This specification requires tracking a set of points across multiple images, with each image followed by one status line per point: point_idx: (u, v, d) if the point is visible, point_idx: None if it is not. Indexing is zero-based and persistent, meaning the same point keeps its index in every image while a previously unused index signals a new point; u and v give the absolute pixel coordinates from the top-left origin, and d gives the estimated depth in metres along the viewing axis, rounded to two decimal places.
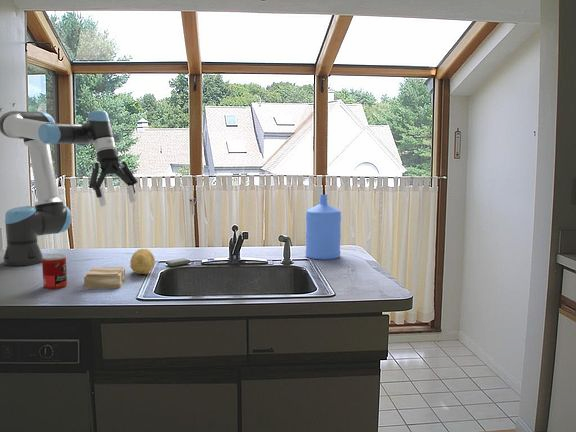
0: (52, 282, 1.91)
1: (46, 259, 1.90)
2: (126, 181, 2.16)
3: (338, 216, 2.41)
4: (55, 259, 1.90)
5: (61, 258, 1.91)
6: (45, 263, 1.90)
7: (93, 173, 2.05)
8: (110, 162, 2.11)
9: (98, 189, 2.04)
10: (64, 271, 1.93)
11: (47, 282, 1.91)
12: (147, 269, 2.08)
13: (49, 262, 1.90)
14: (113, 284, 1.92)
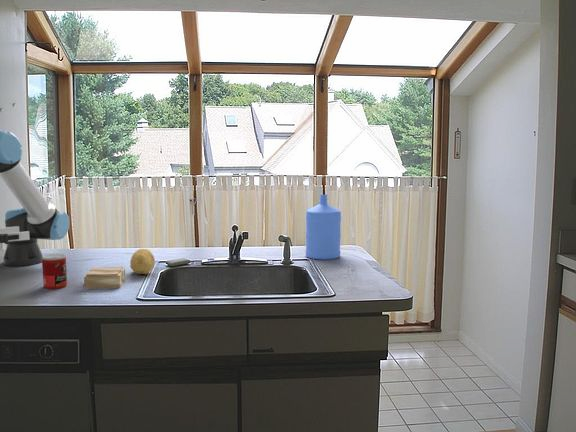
0: (52, 282, 1.91)
1: (46, 259, 1.90)
2: None
3: (338, 216, 2.41)
4: (55, 259, 1.90)
5: (61, 258, 1.91)
6: (45, 263, 1.90)
7: None
8: None
9: None
10: (64, 271, 1.93)
11: (47, 282, 1.91)
12: (147, 269, 2.08)
13: (49, 262, 1.90)
14: (113, 284, 1.92)
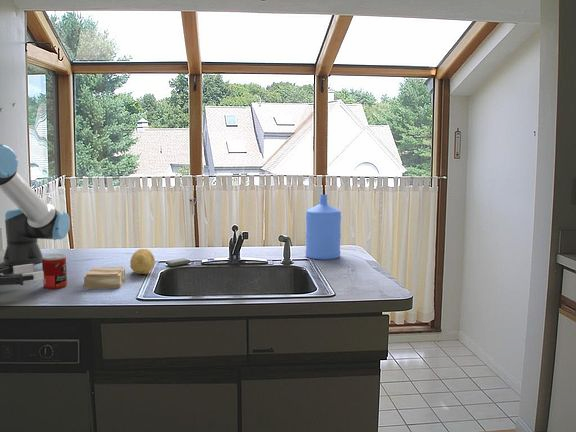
0: (52, 282, 1.91)
1: (46, 259, 1.90)
2: None
3: (338, 216, 2.41)
4: (55, 259, 1.90)
5: (61, 258, 1.91)
6: (45, 263, 1.90)
7: None
8: None
9: None
10: (64, 271, 1.93)
11: (47, 282, 1.91)
12: (147, 269, 2.08)
13: (49, 262, 1.90)
14: (113, 284, 1.92)
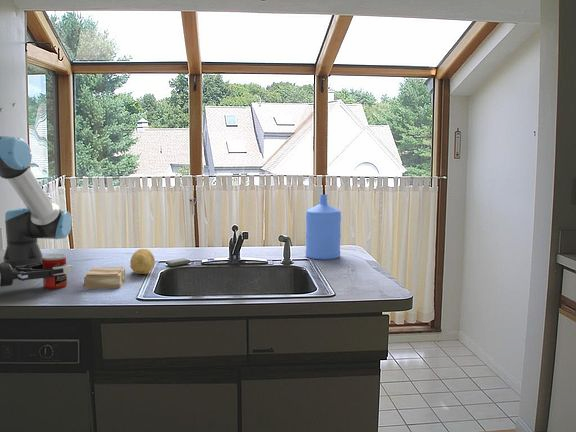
0: (52, 282, 1.91)
1: (46, 259, 1.90)
2: None
3: (338, 216, 2.41)
4: (55, 259, 1.90)
5: (61, 258, 1.91)
6: (45, 263, 1.90)
7: None
8: None
9: None
10: None
11: (47, 282, 1.91)
12: (147, 269, 2.08)
13: (49, 262, 1.90)
14: (113, 284, 1.92)
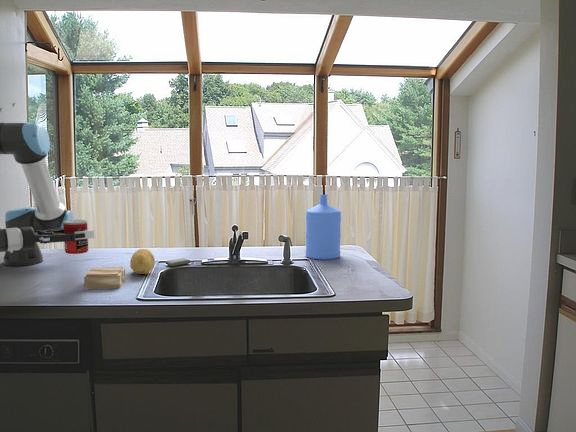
0: (74, 247, 1.89)
1: (67, 223, 1.88)
2: None
3: (338, 216, 2.41)
4: (77, 223, 1.88)
5: (82, 223, 1.90)
6: (67, 227, 1.89)
7: None
8: None
9: None
10: None
11: (68, 247, 1.89)
12: (147, 269, 2.08)
13: (71, 226, 1.88)
14: (113, 284, 1.92)
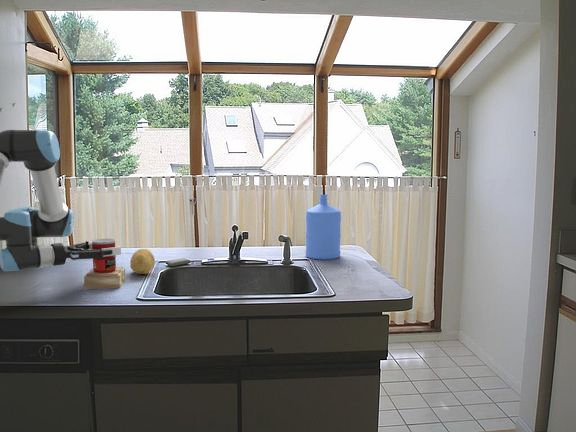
0: (102, 266, 1.93)
1: (97, 243, 1.92)
2: None
3: (338, 216, 2.41)
4: (106, 243, 1.93)
5: (111, 242, 1.94)
6: (96, 247, 1.93)
7: None
8: None
9: None
10: (114, 255, 1.96)
11: (97, 266, 1.93)
12: (147, 269, 2.08)
13: (100, 246, 1.92)
14: (113, 284, 1.92)
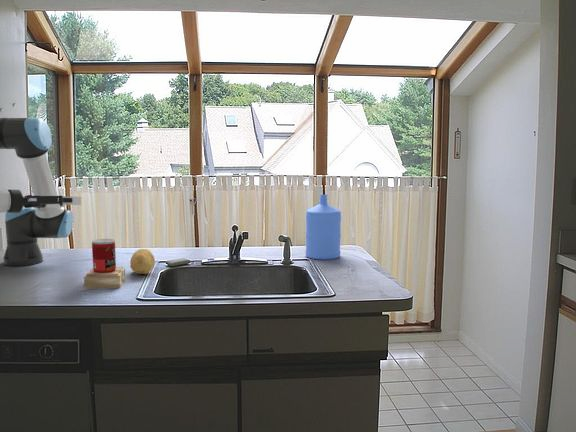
0: (102, 266, 1.93)
1: (96, 243, 1.92)
2: None
3: (338, 216, 2.41)
4: (105, 243, 1.93)
5: (111, 242, 1.94)
6: (96, 247, 1.93)
7: None
8: (23, 204, 1.80)
9: (46, 205, 1.93)
10: (114, 255, 1.96)
11: (97, 266, 1.93)
12: (147, 269, 2.08)
13: (100, 246, 1.92)
14: (113, 284, 1.92)
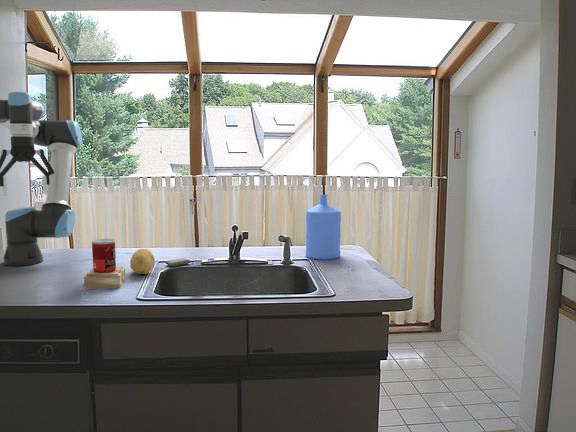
0: (103, 266, 1.93)
1: (97, 243, 1.92)
2: (41, 170, 2.03)
3: (338, 216, 2.41)
4: (106, 243, 1.93)
5: (111, 242, 1.94)
6: (96, 247, 1.93)
7: None
8: (23, 150, 1.97)
9: (1, 178, 1.94)
10: (114, 255, 1.96)
11: (97, 266, 1.93)
12: (147, 269, 2.08)
13: (100, 246, 1.92)
14: (113, 284, 1.92)
